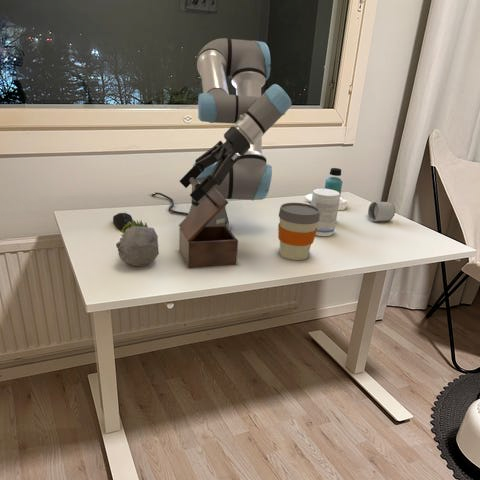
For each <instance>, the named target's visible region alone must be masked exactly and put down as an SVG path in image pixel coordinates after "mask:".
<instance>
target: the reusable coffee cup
mask: <svg viewBox="0 0 480 480" xmlns="http://www.w3.org/2000/svg"><path fill="white" fill-rule="evenodd" d="M278 217H279V223H278V231H277V232H278V235H277V237H278V240H279V254H280V256H281V257H282V258H284V259H287V260H291V261H302V260H306V259H307V258H308V257H309V253H310V251H311V246H312V245H313V243H314V240H315V237H316V235H315V234H316V231H317V227H316V226H317V223H318V221H319V218H320V210H319V209H318V208H317V207H315V206H312V205H311V204H308V203H303V202H286V203H282V204H281V205H280V207H279V211H278Z"/></svg>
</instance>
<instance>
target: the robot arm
mask: <svg viewBox="0 0 480 480" xmlns="http://www.w3.org/2000/svg"><path fill="white" fill-rule="evenodd" d="M271 62H272V61H271V52H270V49H269V46H268V45H267V43H266V42H264V41H259V40H255V39H252V40H248V39H236V38H235V39H234V38H227V37H226V38H224V37H222V38H216V39H214V40H211V41H209V42H207V44H205V45H204V46H203V47H202V48H201V49H200V51H199V52H198V54H197V58H196V69H197V73H198V74H199V75H200V77H201V85H202V93H200V94H198V99H197V118H198V120H199V121H200V122H202V123H203V122H204V123H210V124H233V126H230V128H228V130H226V131H225V132H224V134H223V138H224V140H225V142H223V141H222V140H219V141H218V142H217V143H216V144H215V145H214V146H212V147H211V148H209V149H208V150H206V152H204V153H203V154H201V155H200V156H198V157H197V158H195V160H194V162H193V164H192V167H191V169H189V171H188V172H186V174H185V175H183V177H182V178H181V179H180V180H179V181H178V182H179V183H180V184H181V185H182V186H183V187H184V188H185V189H187V188H188V187H189V186H190V185H191V184H190V182H189V179H190V178H191V177H194V178H195V179H196V180H197V181H198V182H199V183H200V185H199V186H198V187H197V188H196V189H195V188H194V187H193V186H192V185H191V193H190V194H189V196H190V197H191V202H190V203H191V204H190V208H189V211H188V212H184V211H177V210H174V209H172V208H173V207H174V205H175V201H174V199H173V198H171V197H170V196H168V195H166V194H164V193H162V192H154V193H155V194H153V193H152V194H151V197H154V196H156V195H158V196H161V197H163V198H166V199H167V200H169V201H170V202H171V205H170V206H169V207H168V210H169V212H171V213H174V214H177V215H178V214H179V215H184V216H188V215H189V214H190V213H191V212H192V211H193V210H194V209H195V208H196V207H197V206H198V205H199V204H200V203H201V202H202V201H203V199H204V198H205V197H206V196H205V194H206V193H207V194H209V193H210V192H211V191H212V190H213V189H214V188H215V189H216V190H217V191H218V192H219V193H220V194H221V195H222V196H223V197H224V198H225V199H226V200H240V201H241V200H242V201H243V200H245V201H247V200H248V201H263V200H265V199H266V198H267V196H268V194H269V191H270V187H271V183H272V177H273V176H272V175H273V168H272V165H270V164H268V163H267V157H266V156H265V155H263V136H264V135H265V134H266V133H267V131H268V130H269V129H271V128H272V126H273V125H275V124H276V123H277V122H278V120H280V119H281V118H282V117H283V116H285V115H286V113H287V112H288V110H289V109H290V108H291V107H292V100H291V98H290V96H289V95H288V93H287V92H286V91H285V90H284V89H283V87H281V86H280V85H279V84H277V83H274V84H272V85H270V86H269V88H267V89H266V90H265V91H264V92H263V93H262V88H263V86H265V84H266V81H267V80H268V79H269V78H270V75H271V64H272V63H271ZM227 78H229V79H231V85H232V86H233V87H234V88H235V92H236V93H235V94H230V93H229V87H228V82H227ZM227 212H228V211H227V209H226V206H225V207H224V208H223V209H222V210H221V211H220V212H219V213H218V214H217V215H216V216H215V217H214V218H213V219H212V220H211V221H210V222H209V223H208V224H207V225H206V226H225V225H226V227H227V228H228V229H229V230H230V220H229V216H228V213H227Z"/></svg>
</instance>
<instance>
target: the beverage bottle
mask: <svg viewBox="0 0 480 480" xmlns="http://www.w3.org/2000/svg"><path fill="white" fill-rule="evenodd" d="M329 170H330V171H329V175H330V176H329V177H327V178H326V179H325V182H324V184H325V185H324V189H331V190H335V191H338V192H339V193H340V196H341V194H342V186H343V180H342V179H341V178H340V176H342V169H341V168H337V167H331V168H330V169H329ZM339 199H340V198H339ZM339 201H340V200H339Z"/></svg>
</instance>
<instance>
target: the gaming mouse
mask: <svg viewBox="0 0 480 480" xmlns="http://www.w3.org/2000/svg"><path fill="white" fill-rule="evenodd" d="M132 219H133V217H132V215H131V214H129V213H127V212H118V213H116V214H115V215H113V217H112V222H113V224H114V226H115V227H116V229H117V230H119V231H122V229H123V227H124V226H125V224H128V223H129V221H130V222H131V223H132ZM127 222H128V223H127Z"/></svg>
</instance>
